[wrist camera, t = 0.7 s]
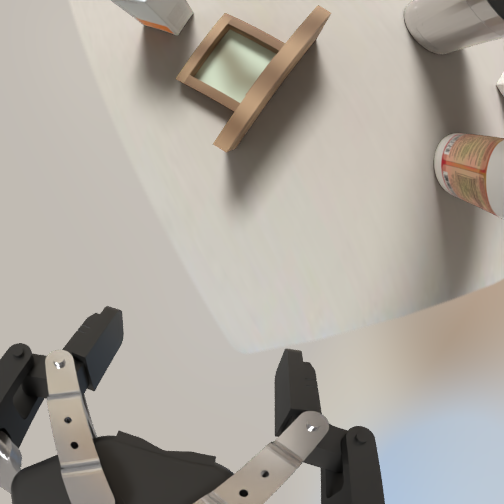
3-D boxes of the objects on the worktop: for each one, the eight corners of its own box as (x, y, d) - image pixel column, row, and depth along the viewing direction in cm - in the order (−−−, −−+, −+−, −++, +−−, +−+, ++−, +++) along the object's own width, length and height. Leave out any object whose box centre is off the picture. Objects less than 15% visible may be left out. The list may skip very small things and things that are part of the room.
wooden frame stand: (244, 0, 26) (238, -33, 18) (316, 39, 28) (331, 13, 19) (165, 107, 32) (136, 100, 24) (235, 148, 34) (226, 152, 26)
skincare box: (142, 26, 27) (100, -6, 16) (158, 2, 26) (123, -36, 15) (178, 37, 28) (144, 3, 17) (195, 12, 27) (169, -29, 16)
